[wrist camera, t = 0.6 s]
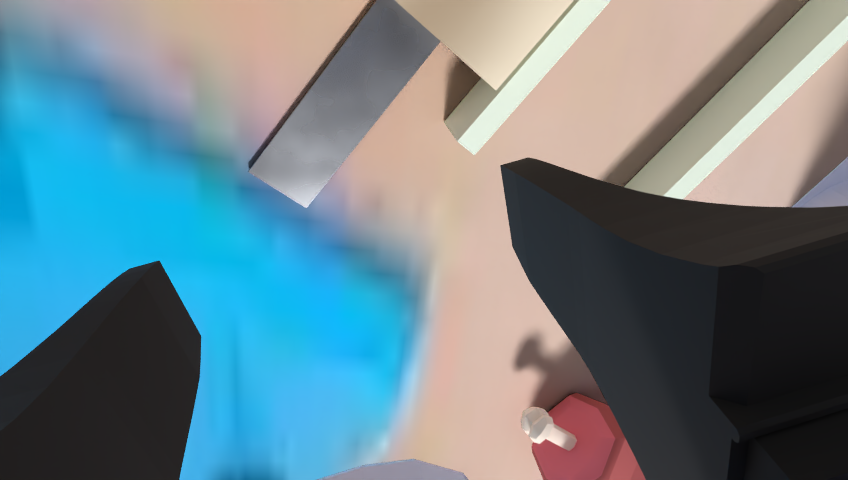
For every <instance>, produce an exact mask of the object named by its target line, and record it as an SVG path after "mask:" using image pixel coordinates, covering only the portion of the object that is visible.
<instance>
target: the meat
mask: <svg viewBox="0 0 848 480" xmlns="http://www.w3.org/2000/svg"><path fill="white" fill-rule="evenodd" d="M521 426H522V429H523V430H524V431H525V432H526V433H527V434H528V435H529V437H530V438H531V439H532V440H533V444H532V453H533V455H534V457H535V460H536V462H537V465H538V467H539V470H540V472H541V475H542V477H543V480H646V479H645V477H644V475H643V473H642V471H641V469H640V467H639V465H638V462H637V460H636V458H635V456H634V454H633V452H632V450H631V448H630V446H629V444H628V442H627V440H626V438H625V436H624V434H623V433H622V431H621V429H620V427H619V425H618V423H617V421H616V419H615V417H614V415H613V413H612V411H611V409H610V407H609V406H608V405H607V404H604V403H602V402H599V401H596V400H594V399H591V398H589V397H586V396H584V395H581V394H579V393H574V394H571V395H569V396H568V397H566V398H565V399H564V400H563V401H561V402H560V403H559V404H558V405H556V406H555V407H554V408H553V409H551V410H550V411H549V412H548V413H547V412H546V411H545V410H544V409H542V408H539V407H530V408H528V409H526V410H524V411H523V413H522V418H521Z"/></svg>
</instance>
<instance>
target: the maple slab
mask: <svg viewBox="0 0 848 480" xmlns="http://www.w3.org/2000/svg"><path fill="white" fill-rule="evenodd" d="M395 1H396V2H397V3H398V4H399V5H401V6H402V7H403V8H404V9H405V10H406V11H407V12H408V13H410V14H411V15H412V16H413V17H414V18H415V19H416V20H417V21H419V22H420V23H421V24H422V25H423V26H424V27H425V28H426V29H427V30H429V31H430V32H431V33H432V34H433V35H434V36H435V37H436V38H438V39H439V40H440V41H441V42H442V43H443V44H444V45H445V46H446V47H448V48H449V49H450V50H451V51H452V52H453V53H454V54H455V55H457V56H458V57H459V58H460V59H461V60H462V61H463V62H464V63H466V64H467V65H468V66H469V67H470V68H471V69H472V70H473V71H474V72H476V73H477V74H478V75H479V76H480V77H481V78H482V79H483V80H485V81H486V82H487V83H488V84H489V85H490V86H491V87H492V88H493V89H495V90H497V89H498V88H499V87H500V86H501V84H502V83H503V82H504V81H505V80H506V79H507V77H508V76H509V75H510V74H511V73H512V72H513V70H514V69H515V68H516V67H517V66H518V65H519V64H520V62H521V61H522V60H523V59H524V58H525V57H526V55H527V54H528V53H529V52H530V51H531V50H532V48H533V47H534V46H535V45H536V44H537V43H538V41H539V40H540V39H541V38H542V37H543V36H544V34H545V33H546V32H547V31H548V30H549V29H550V27H551V26H552V25H553V24H554V23H555V22H556V21H557V19H558V18H559V17H560V16H561V15H562V14H563V12H564V11H565V10H566V9H567V8H568V7H569V5H570V4H571V3H572V2H573V1H574V0H395Z"/></svg>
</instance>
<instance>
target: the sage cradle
mask: <svg viewBox="0 0 848 480" xmlns="http://www.w3.org/2000/svg"><path fill="white" fill-rule="evenodd" d="M610 1H611V0H574V1H573V2H572V3H571V4H570V5H569V7H568V8H567V9H566V10H565V11H564V12H563V14H562V15H561V16H560V17H559V18H558V19H557V21H556V22H555V23H554V24H553V25H552V26H551V27H550V29H549V30H548V31H547V32H546V33H545V34H544V36H543V37H542V38H541V39H540V40H539V41H538V43H537V44H536V45H535V46H534V47H533V48H532V50H531V51H530V52H529V53H528V54H527V55H526V57H525V58H524V59H523V60H522V61H521V62H520V64H519V65H518V66H517V67H516V68H515V69H514V70H513V72H512V73H511V74H510V75H509V76H508V77H507V79H506V80H505V81H504V82H503V83H502V84H501V86H500V87H499V88H498V89H497V90H495V89H493V88H492V87H491V86H490V85H489V84H488V83H487V82H486V81H485V80H483V79H482V78H481V79H480V80H479V81H478V82H477V83H476V85H475V86H474V87H473V88H472V89H471V90H470V92H469V93H468V94H467V95H466V96H465V98H464V99H463V100H462V101H461V102H460V104H459V105H458V106H457V107H456V108H455V109H454V111H453V112H452V113H451V114H450V115H449V117H448V118H447V119H446V120H445V121H444V123H445V124H446V126H447V127H448V129H449V130H450V132H451V133H452V135H453V136H454V137H455V139H456V140H457V142H459V143H460V144H461V145H462V146H464V147H465V148H466V149H467V150H469V151H470V152H471V153H472V154H474V155H475V154H476V153H477V152H478V151H479V149H480V148H481V147H482V146H483V145H484V144H485V143H486V142H487V140H488V139H489V138H490V137H491V136H492V135H493V134H494V132H495V131H496V130H497V129H498V128H499V127H500V126H501V125H502V123H503V122H504V121H505V120H506V119H507V118H508V117H509V115H510V114H511V113H512V112H513V111H514V110H515V109H516V108H517V106H518V105H519V104H520V103H521V102H522V101H523V100H524V98H525V97H526V96H527V95H528V94H529V93H530V92H531V91H532V89H533V88H534V87H535V86H536V85H537V84H538V83H539V81H540V80H541V79H542V78H543V77H544V76H545V75H546V73H547V72H548V71H549V70H550V69H551V68H552V67H553V66H554V64H555V63H556V62H557V61H558V60H559V59H560V58H561V56H562V55H563V54H564V53H565V52H566V51H567V50H568V49H569V47H570V46H571V45H572V44H573V43H574V42H575V41H576V39H577V38H578V37H579V36H580V35H581V34H582V33H583V32H584V30H585V29H586V28H587V27H588V26H589V25H590V24H591V22H592V21H593V20H594V19H595V18H596V17H597V16H598V15H599V13H600V12H601V11H602V10H603V9H604V8H605V7H606V5H607V4H608V3H609V2H610ZM847 41H848V0H809V1H808V2H807V3H806V4H805V5H804V6H803V7H802V8H801V9H800V10H799V11H798V12H797V13H796V14H795V15H794V16H793V17H792V18H791V19H790V20H789V21H788V22H787V23H786V24H785V25H784V26H783V27H782V28H781V29H780V30H779V32H778V33H777V34H776V35H775V36H774V37H773V38H772V39H771V40H770V41H769V42H768V43H767V44H766V45H765V46H764V47H763V48H762V49H761V50H760V51H759V52H758V53H757V54H756V55H755V56H754V57H753V58H752V59H751V60H750V61H749V62H748V63H747V64H746V65H745V66H744V67H743V68H742V69H741V70H740V71H739V72H738V73H737V74H736V75H735V76H734V77H733V78H732V79H731V80H730V81H729V82H728V83H727V84H726V85H725V86H724V87H723V88H722V89H721V90H720V91H719V92H718V93H717V94H716V95H715V96H714V97H713V98H712V99H711V100H710V101H709V102H708V103H707V104H706V105H705V106H704V107H703V108H702V109H701V110H700V111H699V112H698V113H697V114H696V115H695V116H694V117H693V118H692V119H691V120H690V121H689V122H688V123H687V124H686V125H685V126H684V127H683V128H682V129H681V130H680V131H679V132H678V133H677V134H676V135H675V136H674V137H673V138H672V139H671V140H670V141H669V142H668V143H667V144H666V145H665V146H664V147H663V148H662V149H661V150H660V151H659V152H658V153H657V154H656V155H655V156H654V157H653V158H652V159H651V160H650V161H649V162H648V163H647V164H646V165H645V166H644V167H643V168H642V169H641V170H640V171H639V172H638V173H637V174H636V175H635V176H634V177H633V178H632V179H631V180H630V181H629V182H628V183H627V184H626V185H625V186H624V187H625V188H629V189H633V190H637V191H641V192H645V193H650V194H655V195H660V196H666V197H672V198H677V199H684V198H685V197H686V196H687V195H688V194H689V193H690V192H691V191H692V190H693V189H694V188H695V187H696V186H697V185H698V184H699V183H700V182H701V181H702V180H703V179H704V178H705V177H707V176H708V175H709V174H710V173H711V172H712V171H713V170H714V169H715V168H716V167H717V166H718V165H719V164H720V163H721V162H722V161H723V160H724V159H725V158H726V157H727V156H728V155H729V154H730V153H731V152H733V151H734V150H735V149H736V148H737V147H738V146H739V145H740V144H741V143H742V142H743V141H744V140H745V139H746V138H747V137H748V136H749V135H750V134H751V133H752V132H753V131H754V130H755V129H756V128H757V127H759V126H760V125H761V124H762V123H763V122H764V121H765V120H766V119H767V118H768V117H769V116H770V115H771V114H772V113H773V112H774V111H775V110H776V109H777V108H778V107H779V106H780V105H781V104H782V103H783V102H785V101H786V100H787V99H788V98H789V97H790V96H791V95H792V94H793V93H794V92H795V91H796V90H797V89H798V88H799V87H800V86H801V85H802V84H803V83H804V82H805V81H806V80H807V79H808V78H809V77H811V76H812V75H813V74H814V73H815V72H816V71H817V70H818V69H819V68H820V67H821V66H822V65H823V64H824V63H825V62H826V61H827V60H828V59H829V58H830V57H831V56H832V55H833V54H834V53H835V52H837V51H838V50H839V49H840V48H841V47H842V46H843V45H844V44H845V43H846V42H847Z"/></svg>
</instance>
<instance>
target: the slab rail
mask: <svg viewBox="0 0 848 480" xmlns="http://www.w3.org/2000/svg"><path fill="white" fill-rule="evenodd" d="M439 43H440V40H439V39H438V38H436V37H435V36H434V35H433V34H432V33H431V32H430V31H429V30H427V29H426V28H425V27H424V26H423V25H422V24H421V23H420V22H419V21H417V20H416V19H415V18H414V17H413V16H412V15H411V14H410V13H408V12H407V11H406V10H405V9H404V8H403V7H402V6H401V5H399V4H398V3H397V2H396V1H395V0H375V2H374V3H373V4H372V6H371V7H370V8H369V10H368V11H367V12H366V14H365V15H364V16H363V18H362V19H361V20H360V22H359V23H358V24H357V26H356V27H355V28H354V30H353V31H352V32H351V34H350V35H349V36H348V38H347V39H346V40H345V42H344V43H343V44H342V46H341V47H340V48H339V50H338V51H337V52H336V54H335V55H334V56H333V58H332V59H331V61H330V62H329V63H328V65H327V66H326V67H325V69H324V70H323V71H322V73H321V74H320V75H319V77H318V78H317V79H316V81H315V82H314V83H313V85H312V86H311V87H310V89H309V90H308V91H307V93H306V94H305V95H304V97H303V98H302V99H301V101H300V102H299V103H298V105H297V106H296V107H295V109H294V110H293V111H292V113H291V114H290V115H289V117H288V118H287V119H286V121H285V122H284V123H283V125H282V126H281V127H280V129H279V130H278V131H277V133H276V134H275V135H274V137H273V138H272V139H271V141H270V142H269V143H268V145H267V146H266V147H265V149H264V150H263V151H262V153H261V154H260V155H259V157H258V158H257V159H256V161H255V162H254V163H253V165H252V166H251V167H250V169H249V171H248V172H249V173H251V174H252V175H254V176H256V177H257V178H259V179H260V180H262V181H264V182H265V183H267V184H268V185H270V186H272V187H273V188H275V189H276V190H278V191H280V192H281V193H283V194H284V195H286V196H288V197H289V198H291V199H292V200H294V201H296V202H297V203H299V204H301V205H302V206H304V207H305V208H307V207H308V206H309V204H310V203H311V202H312V201H313V199H314V198H315V197H316V196H317V194H318V193H319V192H320V191H321V189H322V188H323V187H324V186H325V184H326V183H327V182H328V181H329V180H330V178H331V177H332V176H333V175H334V173H335V172H336V171H337V170H338V168H339V167H340V166H341V165H342V163H343V162H344V161H345V160H346V158H347V157H348V156H349V155H350V153H351V152H352V151H353V150H354V148H355V147H356V146H357V145H358V143H359V142H360V141H361V140H362V138H363V137H364V136H365V135H366V133H367V132H368V131H369V130H370V128H371V127H372V126H373V125H374V124H375V122H376V121H377V120H378V119H379V117H380V116H381V115H382V114H383V112H384V111H385V110H386V109H387V107H388V106H389V105H390V104H391V102H392V101H393V100H394V99H395V97H396V96H397V95H398V94H399V92H400V91H401V90H402V89H403V87H404V86H405V85H406V84H407V82H408V81H409V80H410V79H411V77H412V76H413V75H414V74H415V72H416V71H417V70H418V69H419V68H420V66H421V65H422V64H423V63H424V61H425V60H426V59H427V58H428V56H429V55H430V54H431V53H432V51H433V50H434V49H435V48H436V46H437V45H438V44H439Z"/></svg>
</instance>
